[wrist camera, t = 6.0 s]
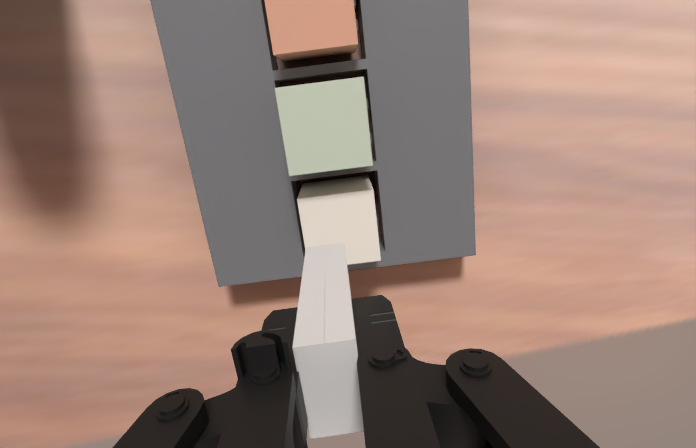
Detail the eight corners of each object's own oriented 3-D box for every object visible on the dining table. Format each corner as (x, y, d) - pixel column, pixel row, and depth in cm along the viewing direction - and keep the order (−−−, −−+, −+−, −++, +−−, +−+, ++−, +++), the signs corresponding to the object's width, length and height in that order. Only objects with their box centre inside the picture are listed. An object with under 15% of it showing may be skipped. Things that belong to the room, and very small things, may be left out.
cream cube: (312, 244, 26) (308, 269, 23) (302, 183, 25) (296, 199, 21) (376, 236, 26) (383, 260, 23) (369, 174, 25) (375, 189, 21)
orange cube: (283, 61, 23) (273, 54, 19) (271, -19, 22) (257, -43, 18) (356, 52, 23) (361, 43, 19) (348, -29, 22) (350, -55, 18)
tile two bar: (296, 162, 23) (289, 176, 20) (285, 89, 22) (274, 87, 18) (369, 153, 23) (375, 165, 19) (361, 79, 22) (366, 76, 18)
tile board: (228, 270, 28) (218, 286, 26) (160, -31, 22) (139, -45, 20) (463, 241, 28) (475, 255, 25) (451, -69, 22) (465, -88, 20)
